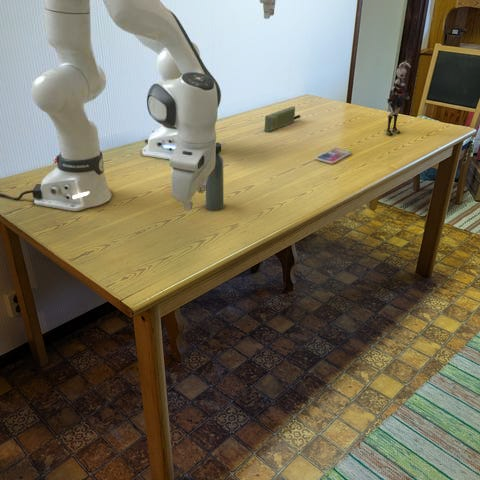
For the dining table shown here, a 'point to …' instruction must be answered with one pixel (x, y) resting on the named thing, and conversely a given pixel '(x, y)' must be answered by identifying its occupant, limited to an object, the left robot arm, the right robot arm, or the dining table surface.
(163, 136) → the right robot arm
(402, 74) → the figurine
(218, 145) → the cap
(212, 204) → the bottle
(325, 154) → the smartphone
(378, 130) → the dining table surface
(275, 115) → the handheld radio
